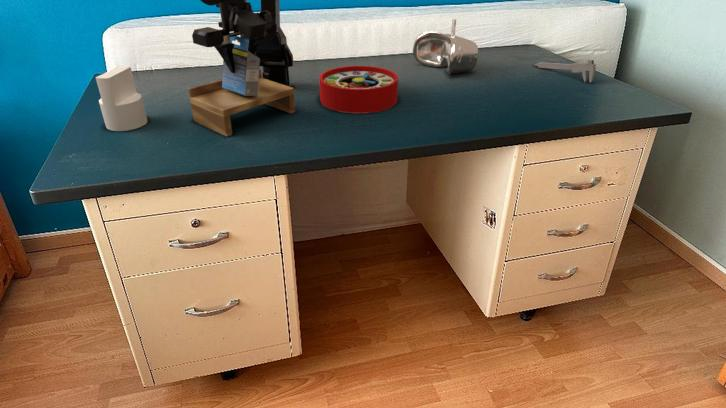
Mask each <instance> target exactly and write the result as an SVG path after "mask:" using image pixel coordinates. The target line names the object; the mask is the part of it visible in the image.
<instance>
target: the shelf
mask: <svg viewBox="0 0 726 408" xmlns="http://www.w3.org/2000/svg"><path fill="white" fill-rule="evenodd" d="M187 90H188V91H187V92H188V97H189V103H190V108H191V115H192V120H193V122H194V123H196V124H199V125H201V126H202V127H205V128H207V129H210V130H212V131H213V132H216V133H217V134H221V135H222V136H224V137H230V136H232V135H233V129H232V122H231V115H235V114H238V113H241V112H243V111H247V110H250V109H253V108H255V107H259V106H262V105H267V106H269V107H273V108H275V109H278V110H280V111H283V112H286V113H288V114H293V113H296V102H295V90H294V87H289V86H286V85H283V84H279V83H276V82H273V81H270V80H267V79H264V78H263V75H262V70H261V68H259V80H258V95H256V96H245V95H242V94H239V93H236V92H233V91H230V90H227V89H224V88H222V78H221V79H217V80H213V81H210V82H206V83H202V84H199V85H195V86H192V87H188V88H187Z"/></svg>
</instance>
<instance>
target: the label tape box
mask: <svg viewBox="0 0 726 408" xmlns="http://www.w3.org/2000/svg"><path fill="white" fill-rule="evenodd" d="M236 41H237V43H239V44H236V43H234V44H235V45H234V48H233V58H234V64H235V73H231V72H230V70H229V68H228V67H227V65H226V63H225V62H224V60H223V59H222V60H223V61H222V77H221V79H222V88H224V89H227V90H230V91H233V92H236V93H239V94H242V95H245V96H256V95H258V80H259V69H260V66H259V65H260V58H258V57H257V56H255V55H253V54H252V53H250V52H249V51H248V45H249V39H246V38H242V37H240V35H238V36H233V37H230V43H233V42H236Z"/></svg>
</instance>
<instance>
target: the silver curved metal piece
mask: <svg viewBox="0 0 726 408" xmlns="http://www.w3.org/2000/svg"><path fill="white" fill-rule="evenodd" d="M456 26H457V19H456V18H452V21H451V29H450V30H451V31H450V32H451V33H443V32H439V31H436V30H429V31H428V30H427V31H424V32H422V33H420V34H418V36H417V37H416V38H415V40H414V42H413V45H412V54H413V58H414V59H415V60H416V61H417V63H419V64H421V65H422V66H426V67H430V68H446V73H447V74H448V75H449V76H451V75H453V74H459V73H465V72H466V73H467V72H471V71H473V70H474V69H475V68H476V65H477V62H478V56H479V48H478V47H479V46H478V45H477V43H476V42H475V41H473V40H470V39H467V38H465V37H461V36H458V35H456Z"/></svg>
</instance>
